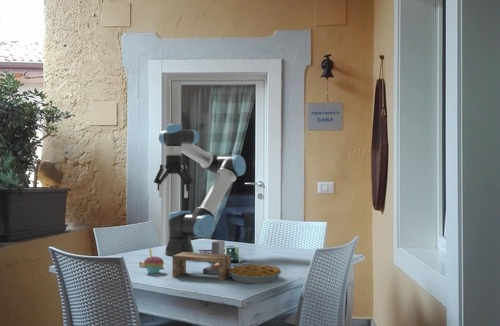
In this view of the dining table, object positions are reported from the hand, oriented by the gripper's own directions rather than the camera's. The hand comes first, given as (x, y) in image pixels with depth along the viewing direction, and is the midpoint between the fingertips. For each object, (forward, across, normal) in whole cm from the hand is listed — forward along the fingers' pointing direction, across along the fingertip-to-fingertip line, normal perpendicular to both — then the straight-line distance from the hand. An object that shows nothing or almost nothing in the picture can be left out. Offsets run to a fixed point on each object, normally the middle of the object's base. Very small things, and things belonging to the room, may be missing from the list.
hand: (173, 197), depth 264 cm
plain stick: (+32, -3, -18) cm, 37 cm away
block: (+32, +32, -20) cm, 49 cm away
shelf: (+32, +27, -30) cm, 51 cm away
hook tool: (+32, +29, -14) cm, 45 cm away
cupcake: (+32, +4, -29) cm, 43 cm away
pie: (+32, +50, -27) cm, 65 cm away
